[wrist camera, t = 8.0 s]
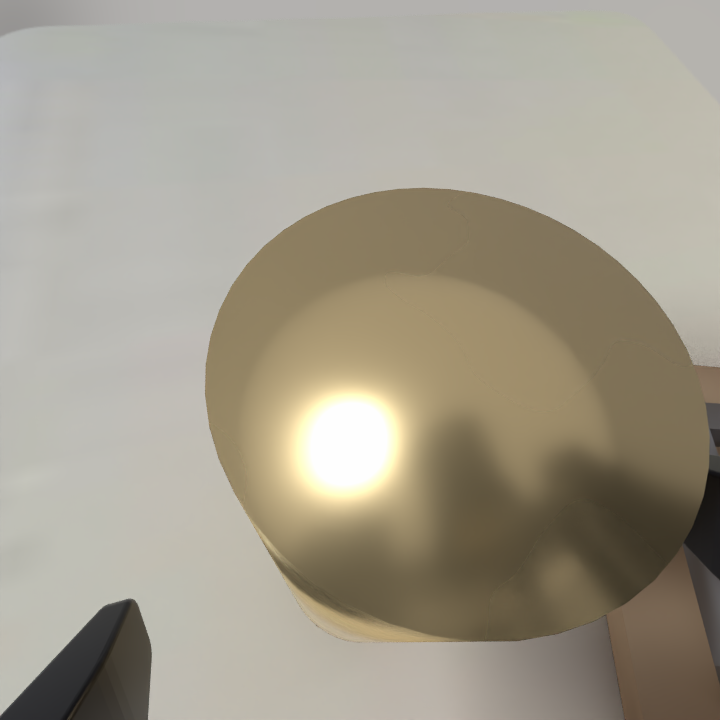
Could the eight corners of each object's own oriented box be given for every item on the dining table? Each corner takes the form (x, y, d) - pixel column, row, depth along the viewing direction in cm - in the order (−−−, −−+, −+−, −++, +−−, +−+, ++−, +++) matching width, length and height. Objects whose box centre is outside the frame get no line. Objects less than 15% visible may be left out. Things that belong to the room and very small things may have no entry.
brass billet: (439, 647, 15) (794, 663, 4) (276, 636, 15) (139, 618, 4) (435, 486, 17) (640, 207, 6) (296, 476, 17) (252, 170, 6)
